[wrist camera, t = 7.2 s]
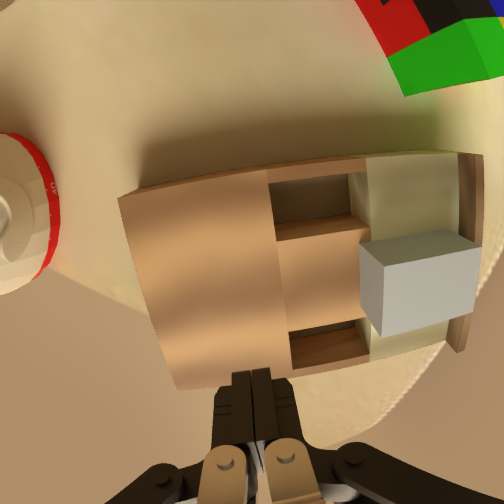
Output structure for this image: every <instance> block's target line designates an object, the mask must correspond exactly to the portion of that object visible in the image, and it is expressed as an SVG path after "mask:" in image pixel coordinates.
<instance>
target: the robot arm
mask: <svg viewBox="0 0 504 504" xmlns="http://www.w3.org/2000/svg"><path fill="white" fill-rule="evenodd" d="M13 1H14V0H0V11H1V10H2V9H4V8H5V7H7V6H8V5H9V4H10V3H12V2H13ZM251 372H252V374H251ZM213 416H214V417H213V427H212V444H211V450H210V451H209V452H208V454H207V455H206V456H205V458H204V460H203V461H201V462H199V463H197V464H195V465H192V466H188V467H185V468H181V469H178V468H177V467H176V466H174V465H171V464H167V463H161V464H157V465H154V466H152V467H150V468H149V469H148V470H147V471H146V472H144V473H143V474H142V475H140V476H139V477H138V478H137V479H136V480H134V481H133V482H132V483H131V484H129V485H128V486H127V487H126V488H124V489H123V490H122V491H121V492H120V493H118V494H117V495H115V496H114V497H113V498H112V499H110V500H109V501H108V502H106V503H105V504H258V481H257V475H263V474H264V472H263V467H264V471H265V474H267V478H268V484H269V489H270V494H271V499H272V504H326V501H330V502H333V503H334V504H504V500H501V499H498V498H494V497H491V496H488V495H485V494H482V493H479V492H477V491H473V490H471V489H468V488H465V487H462V486H460V485H457V484H455V483H452V482H450V481H447V480H445V479H442V478H439V477H437V476H435V475H432V474H430V473H428V472H425V471H423V470H421V469H418V468H416V467H414V466H412V465H409V464H407V463H405V462H403V461H401V460H399V459H396V458H394V457H392V456H390V455H388V454H386V453H384V452H382V451H380V450H378V449H375V448H374V447H372V446H370V445H368V444H366V443H362V442H351V443H347V444H345V445H343V446H341V447H340V448H339V449H338V450H323V449H318V448H315V447H312V446H311V445H309V444H308V443H307V442H306V441H305V439H304V437H303V434H302V429H301V425H300V420H299V415H298V410H297V406H296V401H295V396H294V391H293V387H292V385H291V383H290V382H289V381H288V380H287V379H286V378H285V377H284V378H278V379H272V377H271V371H270V367H266V368H259V369H252V370H251V371H250V370H245V371H238V372H232V375H231V385H228V386H220V388H219V389H218V391H217V393H216V394H215V396H214V411H213Z"/></svg>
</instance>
